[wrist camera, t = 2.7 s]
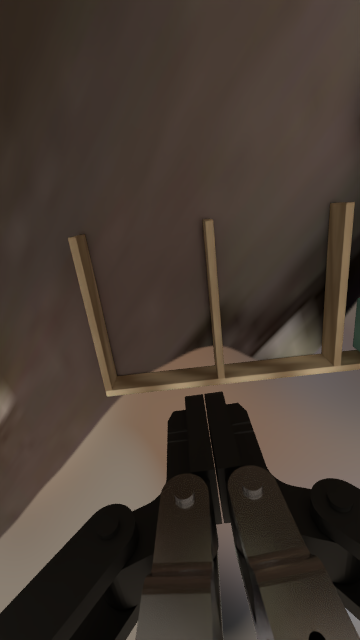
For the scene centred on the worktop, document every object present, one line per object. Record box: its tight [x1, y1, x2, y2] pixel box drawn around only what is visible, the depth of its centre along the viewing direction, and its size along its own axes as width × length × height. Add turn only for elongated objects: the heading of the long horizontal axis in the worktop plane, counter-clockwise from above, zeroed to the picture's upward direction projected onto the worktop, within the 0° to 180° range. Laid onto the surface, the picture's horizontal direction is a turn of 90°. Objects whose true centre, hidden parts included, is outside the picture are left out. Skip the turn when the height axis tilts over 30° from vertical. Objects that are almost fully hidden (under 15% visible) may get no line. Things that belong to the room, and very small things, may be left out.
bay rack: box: [68, 202, 360, 396], centre depth 26 cm, size 32×15×2 cm, turn 97°
